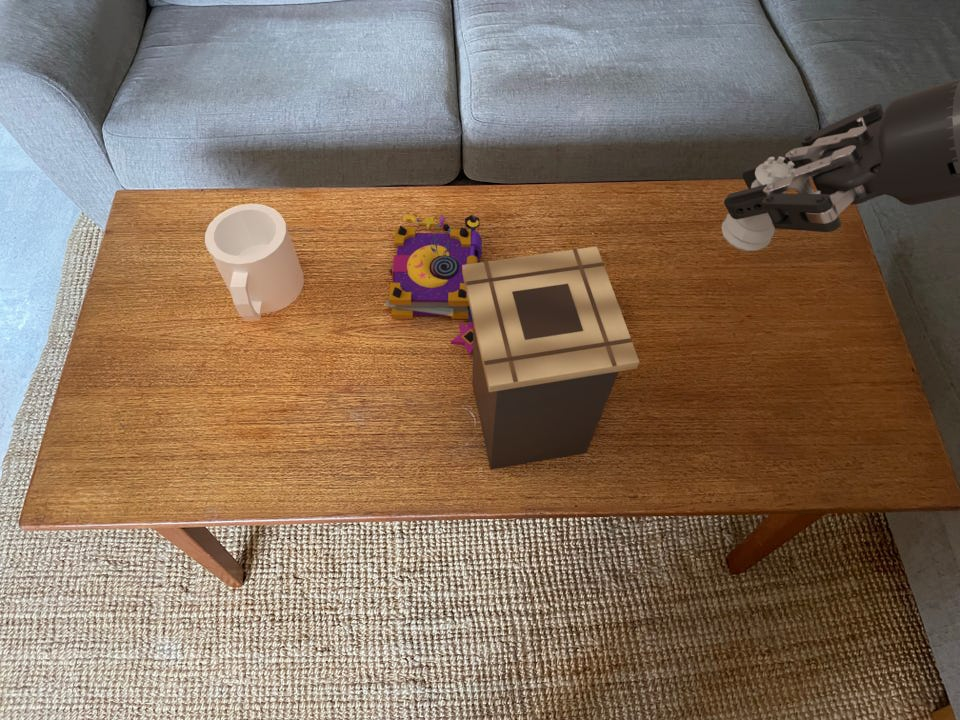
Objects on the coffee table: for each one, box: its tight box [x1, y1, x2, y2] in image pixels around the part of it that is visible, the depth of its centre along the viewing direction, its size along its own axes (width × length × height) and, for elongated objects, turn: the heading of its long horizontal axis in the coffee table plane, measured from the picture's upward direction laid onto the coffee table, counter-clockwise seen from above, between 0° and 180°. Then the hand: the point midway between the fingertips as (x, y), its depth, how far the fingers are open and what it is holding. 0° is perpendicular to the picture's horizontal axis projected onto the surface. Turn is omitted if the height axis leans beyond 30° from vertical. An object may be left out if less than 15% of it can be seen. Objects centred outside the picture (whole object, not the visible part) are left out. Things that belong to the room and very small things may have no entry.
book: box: [382, 214, 483, 357], centre depth 87 cm, size 15×25×12 cm, turn 0°
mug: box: [204, 203, 305, 322], centre depth 86 cm, size 14×10×11 cm
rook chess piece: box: [721, 156, 796, 252], centre depth 55 cm, size 4×4×8 cm
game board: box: [462, 246, 640, 392], centre depth 62 cm, size 14×14×1 cm
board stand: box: [472, 323, 620, 470], centre depth 72 cm, size 12×12×22 cm
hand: (739, 194), depth 56 cm, fingers closed on rook chess piece, 3 cm apart
